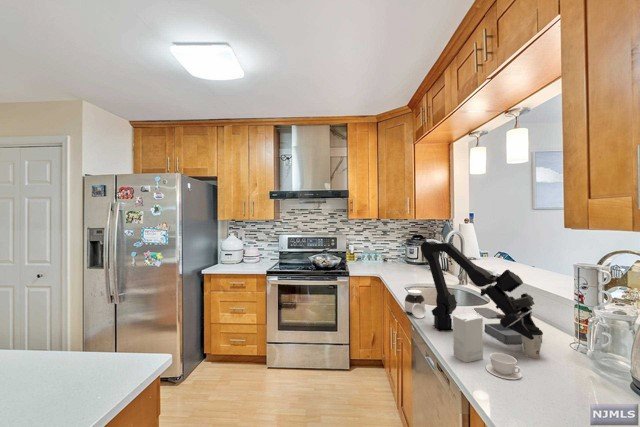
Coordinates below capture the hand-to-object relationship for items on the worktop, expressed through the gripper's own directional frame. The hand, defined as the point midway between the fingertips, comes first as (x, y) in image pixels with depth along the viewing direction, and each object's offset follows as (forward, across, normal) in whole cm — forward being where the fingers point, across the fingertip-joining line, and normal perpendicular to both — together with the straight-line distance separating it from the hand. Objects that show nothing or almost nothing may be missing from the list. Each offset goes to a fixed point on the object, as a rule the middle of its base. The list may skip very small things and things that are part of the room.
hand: (535, 336), depth 106 cm
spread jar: (-32, +8, +42) cm, 54 cm away
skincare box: (-6, -19, +16) cm, 26 cm away
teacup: (+2, -21, +8) cm, 22 cm away
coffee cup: (+4, 0, +6) cm, 7 cm away
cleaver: (-12, +34, +23) cm, 43 cm away
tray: (-3, +13, +13) cm, 19 cm away
